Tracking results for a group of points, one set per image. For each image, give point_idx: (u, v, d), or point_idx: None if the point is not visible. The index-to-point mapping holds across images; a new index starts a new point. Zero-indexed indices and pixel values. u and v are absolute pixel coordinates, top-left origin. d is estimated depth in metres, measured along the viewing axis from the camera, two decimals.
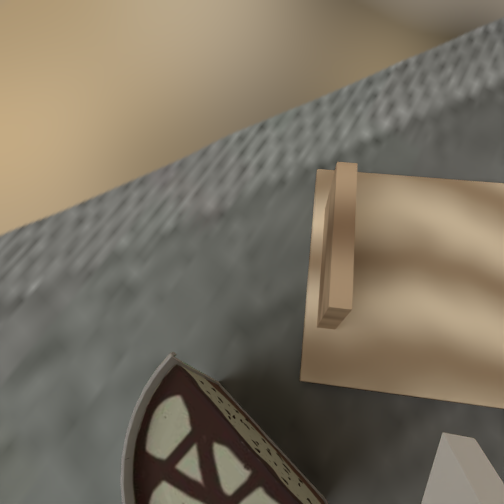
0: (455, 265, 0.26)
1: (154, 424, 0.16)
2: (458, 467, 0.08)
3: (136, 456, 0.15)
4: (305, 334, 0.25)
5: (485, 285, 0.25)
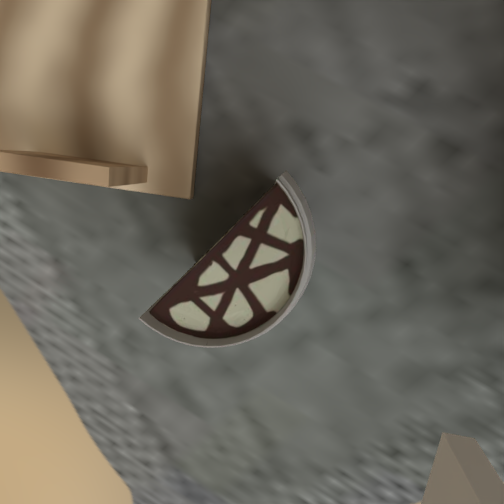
0: (83, 44, 0.27)
1: (189, 325, 0.22)
2: (458, 467, 0.08)
3: (209, 336, 0.22)
4: (153, 192, 0.29)
5: (99, 17, 0.26)
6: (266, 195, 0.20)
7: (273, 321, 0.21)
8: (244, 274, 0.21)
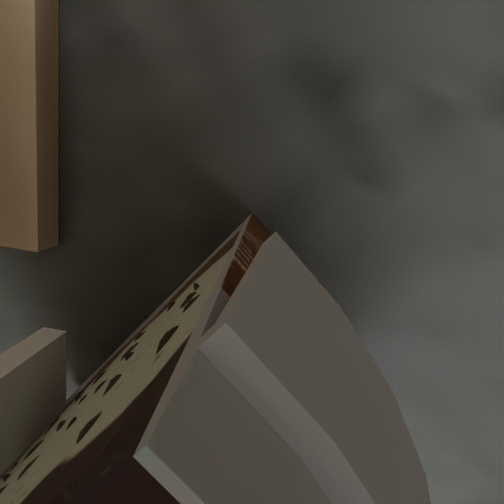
0: None
1: None
2: None
3: None
4: None
5: None
6: (114, 462, 0.02)
7: None
8: None
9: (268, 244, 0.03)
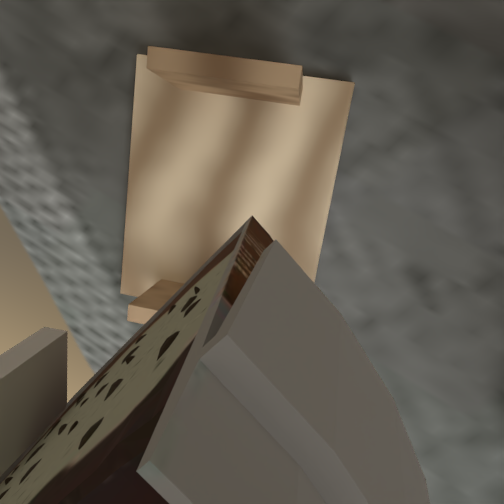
0: (214, 190, 0.29)
1: None
2: None
3: None
4: None
5: (232, 168, 0.28)
6: (117, 471, 0.02)
7: None
8: None
9: (269, 252, 0.03)
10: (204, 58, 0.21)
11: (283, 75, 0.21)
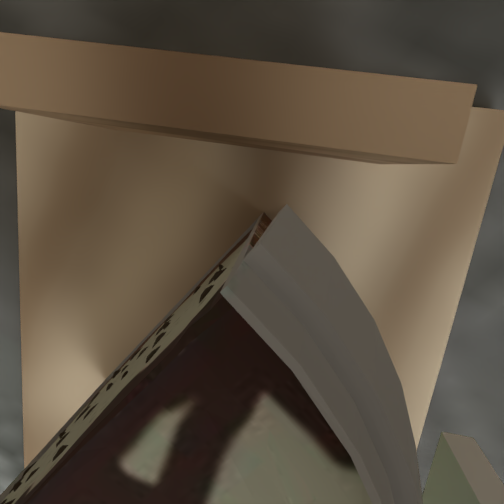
0: None
1: None
2: (457, 466, 0.08)
3: None
4: None
5: None
6: (188, 345, 0.04)
7: None
8: None
9: (282, 210, 0.04)
10: (130, 64, 0.06)
11: (405, 119, 0.06)
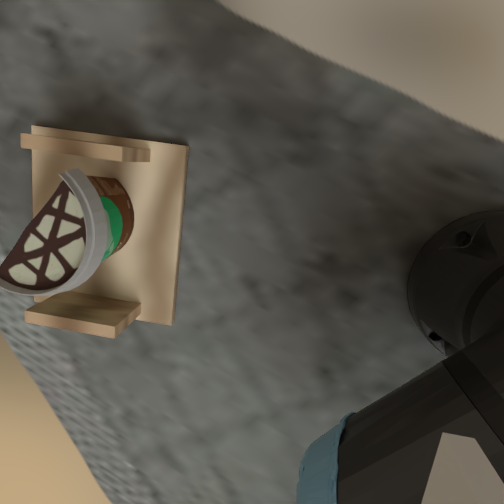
0: None
1: (23, 281, 0.31)
2: (458, 467, 0.08)
3: (37, 288, 0.31)
4: (145, 320, 0.41)
5: None
6: (59, 185, 0.28)
7: (74, 274, 0.29)
8: (54, 242, 0.30)
9: (76, 168, 0.29)
10: (58, 141, 0.31)
11: (111, 153, 0.31)
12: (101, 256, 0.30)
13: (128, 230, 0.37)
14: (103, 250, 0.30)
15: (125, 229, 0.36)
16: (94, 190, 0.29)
